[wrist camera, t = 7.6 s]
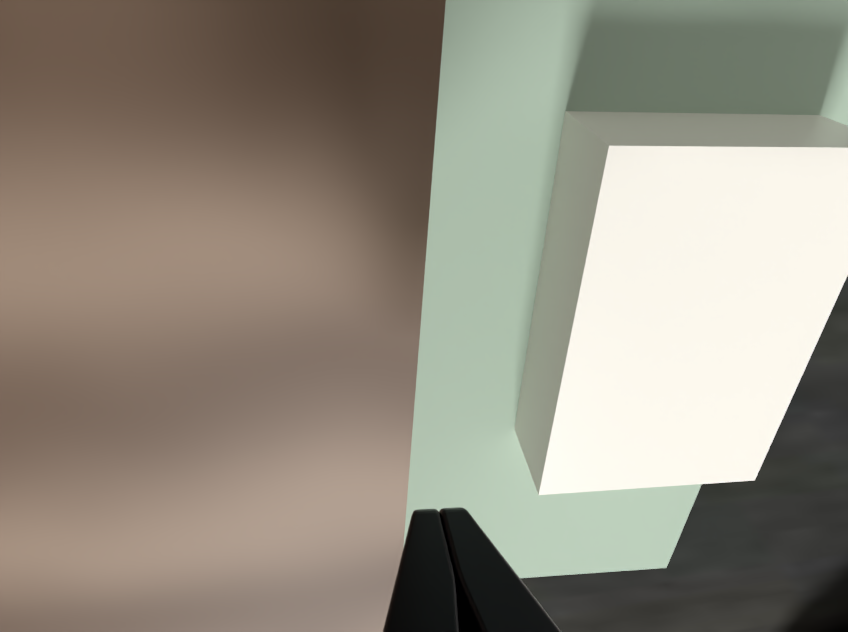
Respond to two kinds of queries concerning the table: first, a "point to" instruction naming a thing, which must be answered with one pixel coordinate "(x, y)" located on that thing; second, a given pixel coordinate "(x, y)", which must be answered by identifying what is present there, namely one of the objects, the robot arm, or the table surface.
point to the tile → (679, 294)
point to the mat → (527, 221)
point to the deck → (210, 309)
